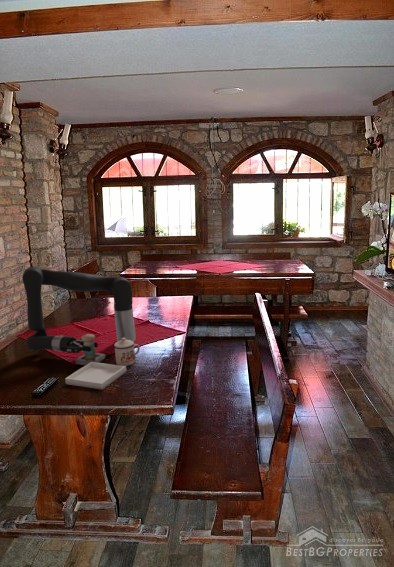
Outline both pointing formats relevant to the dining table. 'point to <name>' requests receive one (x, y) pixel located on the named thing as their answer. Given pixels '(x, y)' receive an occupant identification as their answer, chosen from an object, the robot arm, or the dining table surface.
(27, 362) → the dining table surface
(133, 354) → the teacup with lid
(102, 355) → the socket
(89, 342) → the spool
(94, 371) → the tray
